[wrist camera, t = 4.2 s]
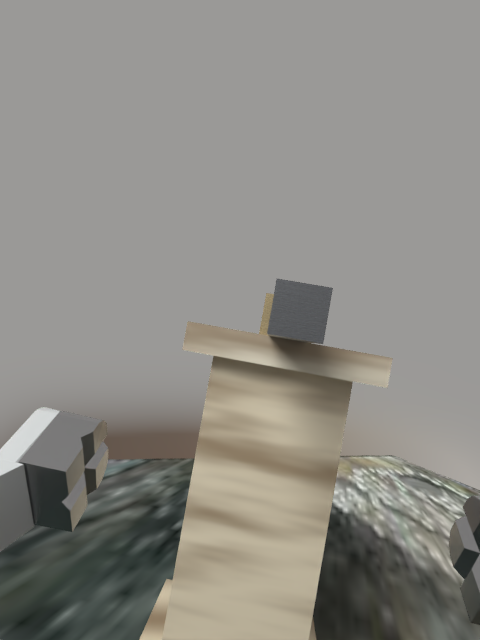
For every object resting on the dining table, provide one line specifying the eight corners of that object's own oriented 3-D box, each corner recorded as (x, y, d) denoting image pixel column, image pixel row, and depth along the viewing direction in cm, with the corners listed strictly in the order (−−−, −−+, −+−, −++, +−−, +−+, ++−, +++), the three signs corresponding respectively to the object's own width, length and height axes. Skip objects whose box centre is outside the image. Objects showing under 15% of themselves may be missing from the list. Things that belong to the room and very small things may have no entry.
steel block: (344, 347, 18) (358, 267, 19) (246, 329, 19) (260, 251, 19) (306, 343, 40) (312, 306, 41) (260, 335, 41) (267, 298, 41)
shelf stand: (325, 756, 27) (392, 358, 28) (117, 701, 28) (187, 321, 29) (309, 629, 39) (356, 352, 40) (163, 594, 40) (212, 326, 41)
